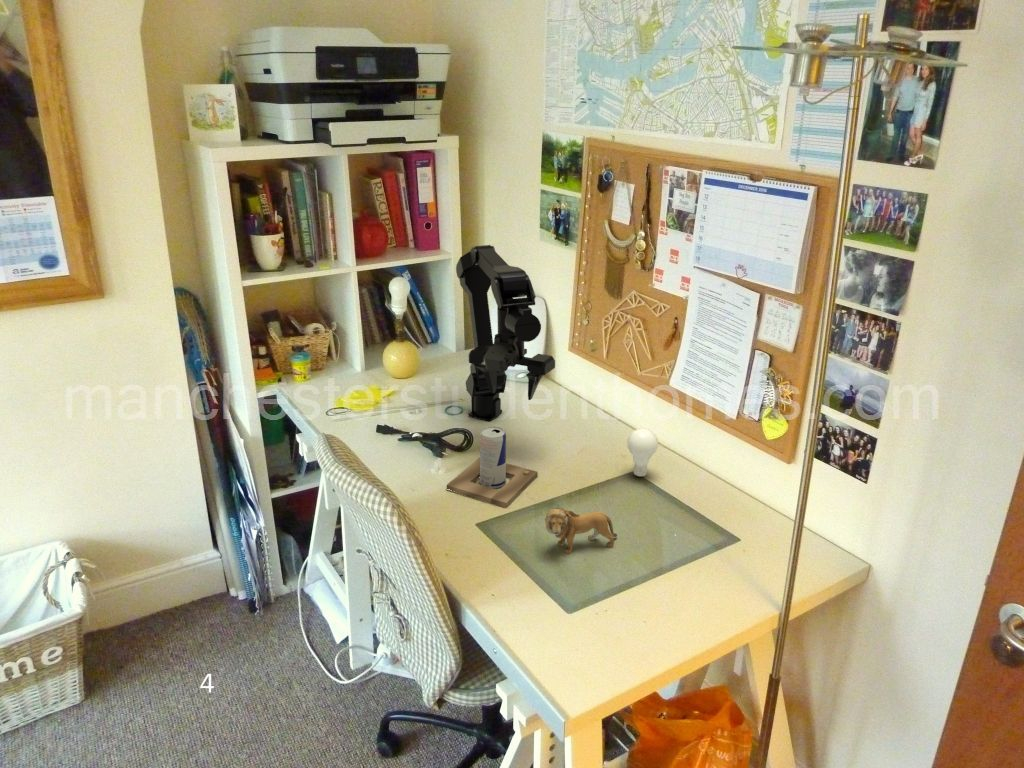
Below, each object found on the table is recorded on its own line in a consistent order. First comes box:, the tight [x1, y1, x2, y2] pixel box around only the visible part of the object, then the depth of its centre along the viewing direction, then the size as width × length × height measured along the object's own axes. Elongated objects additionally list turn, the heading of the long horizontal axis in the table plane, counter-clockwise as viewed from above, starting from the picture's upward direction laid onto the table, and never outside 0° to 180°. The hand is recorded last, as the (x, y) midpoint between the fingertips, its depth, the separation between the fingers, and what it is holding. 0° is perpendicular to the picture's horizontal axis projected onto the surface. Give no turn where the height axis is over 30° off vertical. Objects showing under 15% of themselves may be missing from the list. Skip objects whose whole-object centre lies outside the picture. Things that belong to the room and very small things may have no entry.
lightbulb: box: [627, 427, 659, 478], centre depth 160 cm, size 6×6×11 cm
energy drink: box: [479, 426, 507, 490], centre depth 156 cm, size 5×5×12 cm
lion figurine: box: [544, 507, 618, 554], centre depth 137 cm, size 15×5×9 cm, turn 112°
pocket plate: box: [446, 456, 539, 509], centre depth 158 cm, size 14×14×2 cm
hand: (511, 396), depth 168 cm, fingers open, 9 cm apart
